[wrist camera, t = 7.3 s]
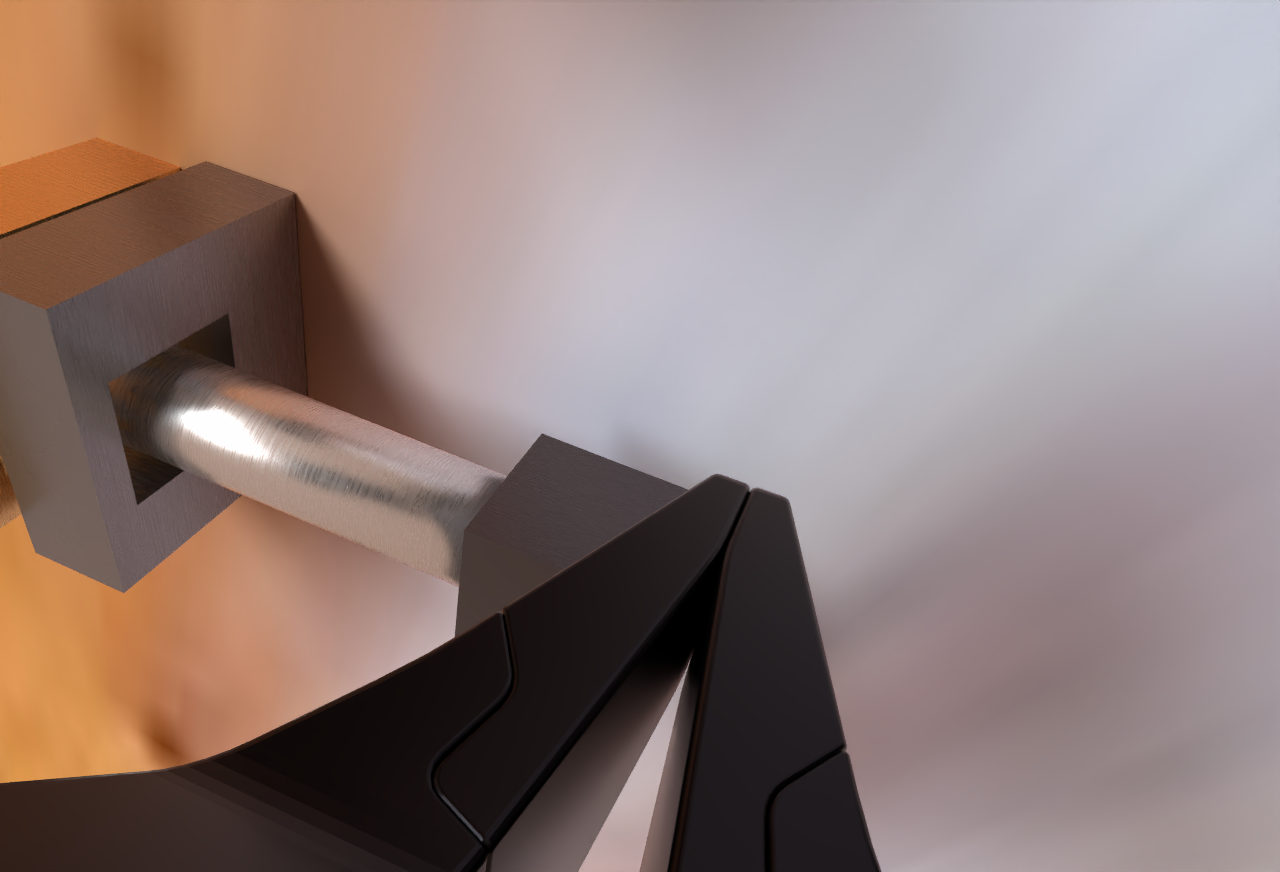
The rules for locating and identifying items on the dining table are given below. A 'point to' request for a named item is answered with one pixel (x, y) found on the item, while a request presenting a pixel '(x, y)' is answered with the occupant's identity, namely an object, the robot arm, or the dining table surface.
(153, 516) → the pillow block
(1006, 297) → the dining table surface
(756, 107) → the dining table surface
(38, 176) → the spacer
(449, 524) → the shaft
